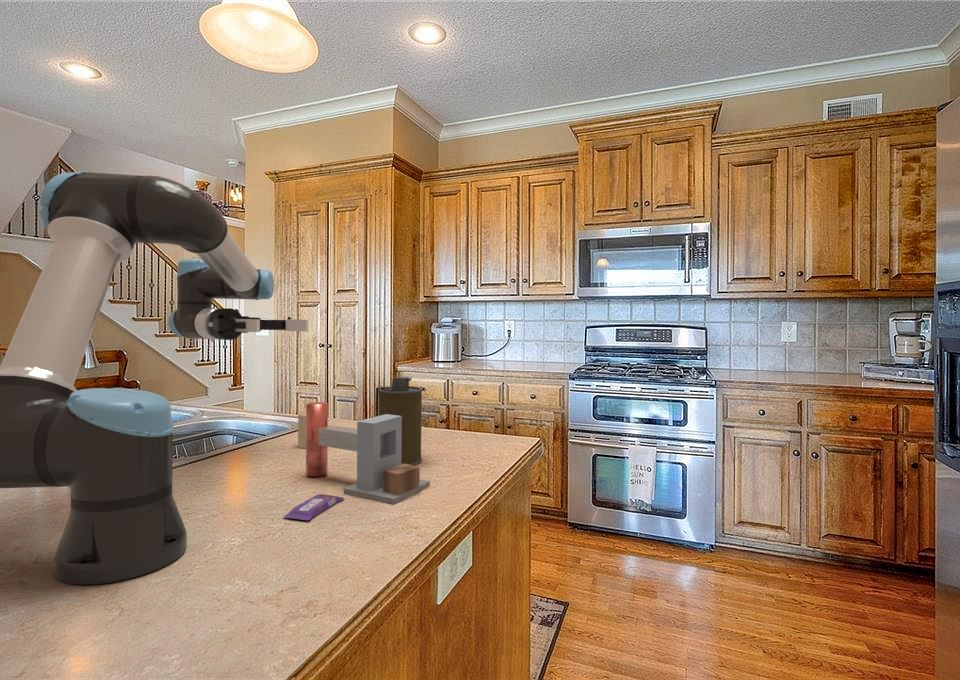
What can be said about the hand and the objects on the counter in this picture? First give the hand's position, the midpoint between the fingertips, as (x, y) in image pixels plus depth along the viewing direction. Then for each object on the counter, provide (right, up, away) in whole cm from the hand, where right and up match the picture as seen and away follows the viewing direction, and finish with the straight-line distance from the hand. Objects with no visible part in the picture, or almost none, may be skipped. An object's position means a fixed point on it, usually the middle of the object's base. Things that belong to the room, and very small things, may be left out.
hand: (284, 325), depth 115 cm
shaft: (+15, -32, -7) cm, 36 cm away
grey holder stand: (+25, -33, -12) cm, 43 cm away
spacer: (+26, -30, -13) cm, 42 cm away
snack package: (+14, -34, -23) cm, 43 cm away
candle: (-2, -31, +22) cm, 38 cm away
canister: (+24, -32, +9) cm, 41 cm away
